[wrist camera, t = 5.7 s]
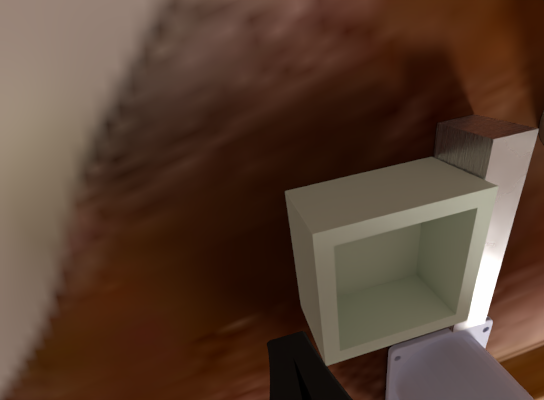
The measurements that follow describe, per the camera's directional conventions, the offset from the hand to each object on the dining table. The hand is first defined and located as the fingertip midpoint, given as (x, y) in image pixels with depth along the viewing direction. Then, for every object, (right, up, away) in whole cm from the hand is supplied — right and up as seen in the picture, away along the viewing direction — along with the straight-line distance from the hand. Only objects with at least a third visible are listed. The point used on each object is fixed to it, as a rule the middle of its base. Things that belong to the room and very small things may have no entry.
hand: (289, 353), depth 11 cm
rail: (+9, +5, +6) cm, 11 cm away
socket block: (+4, +4, +5) cm, 8 cm away
